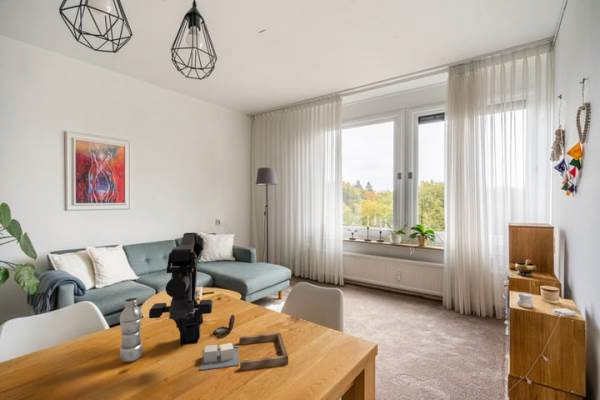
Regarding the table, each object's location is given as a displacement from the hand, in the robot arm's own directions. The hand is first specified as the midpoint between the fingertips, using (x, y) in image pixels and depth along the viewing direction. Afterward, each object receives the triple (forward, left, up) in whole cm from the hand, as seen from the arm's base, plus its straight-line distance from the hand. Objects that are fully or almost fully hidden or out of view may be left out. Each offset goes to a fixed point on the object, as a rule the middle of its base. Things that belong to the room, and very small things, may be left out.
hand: (182, 334), depth 94 cm
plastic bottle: (-17, +6, -10) cm, 20 cm away
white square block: (+14, 0, -9) cm, 17 cm away
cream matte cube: (+9, 0, -9) cm, 13 cm away
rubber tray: (+12, 0, -9) cm, 15 cm away
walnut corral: (+25, 0, -9) cm, 27 cm away
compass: (+12, +18, -10) cm, 24 cm away
